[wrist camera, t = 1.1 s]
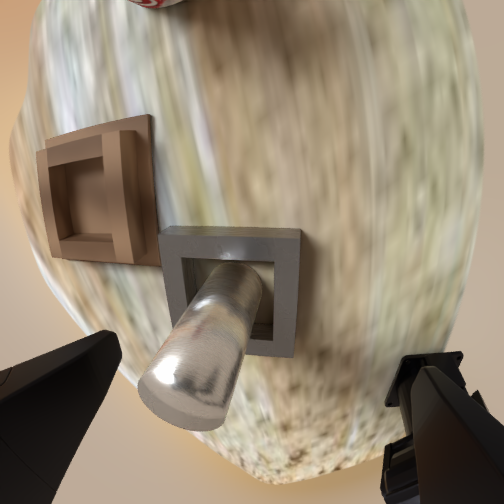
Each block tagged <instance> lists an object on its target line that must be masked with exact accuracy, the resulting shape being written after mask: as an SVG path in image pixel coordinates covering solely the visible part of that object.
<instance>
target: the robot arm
mask: <svg viewBox="0 0 504 504" xmlns="http://www.w3.org/2000/svg"><path fill="white" fill-rule="evenodd" d="M121 359H122V350H121V347H120V344H119V340H118V337H117V334H116V333H115V332H112V331H109V330H102V331H99V332H97V333H94V334H92V335H89V336H87V337H85V338H82V339H80V340H77V341H75V342H72V343H70V344H67V345H65V346H62V347H60V348H58V349H55V350H53V351H50V352H48V353H46V354H43V355H40V356H38V357H35V358H33V359H30V360H28V361H25V362H23V363H20V364H18V365H15V366H13V367H10V368H7V369H5V370H2V371H0V504H51V503H52V501H53V499H54V497H55V495H56V491H57V490H58V488H59V486H60V484H61V481H62V479H63V477H64V475H65V473H66V471H67V469H68V467H69V465H70V462H71V461H72V459H73V457H74V455H75V453H76V451H77V449H78V447H79V445H80V443H81V441H82V439H83V437H84V435H85V434H86V432H87V430H88V428H89V426H90V424H91V422H92V420H93V419H94V417H95V415H96V413H97V411H98V409H99V407H100V406H101V404H102V402H103V400H104V398H105V396H106V394H107V392H108V389H109V387H110V385H111V382H112V380H113V378H114V375H115V373H116V371H117V368H118V366H119V364H120V362H121ZM462 359H463V353H462V352H461V351H456V352H445V353H434V354H419V355H406V356H404V357H403V358H402V359H401V362H400V364H399V367H398V370H397V372H396V375H395V378H394V380H393V383H392V385H391V388H390V390H389V393H388V395H387V397H386V400H385V406H386V407H398V406H400V410H401V414H402V418H403V423H404V427H405V432H406V437H404V438H402V439H400V440H398V441H396V442H394V443H390V444H388V445H386V446H385V451H384V459H383V469H382V478H381V485H380V489H381V493H382V496H383V497H384V500H385V502H386V504H504V426H503V425H502V424H501V423H500V422H499V421H498V420H497V419H495V418H494V417H493V416H492V415H491V414H490V413H489V410H488V408H487V406H486V404H485V403H484V400H483V398H482V397H481V395H480V393H479V391H478V390H477V391H475V392H474V393H473V395H472V396H469V394H468V392H467V390H466V388H465V385H466V383H465V381H464V379H463V377H462V374H461V372H460V371H459V368H458V367H459V365H460V363H461V361H462ZM406 361H407V362H406Z"/></svg>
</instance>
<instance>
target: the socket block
mask: <svg viewBox="0 0 504 504" xmlns="http://www.w3.org/2000/svg"><path fill="white" fill-rule="evenodd" d="M300 236H301V229H290V228H258V227H213V226H169V227H168V228H167V229H165V230H164V231H162V232H161V233H159V234H158V241H159V249H160V256H161V263H162V270H163V276H164V283H165V289H166V295H167V300H168V306H169V311H170V317H171V322H172V327H173V328H174V327H175V325H176V324H177V322H178V321H179V319H180V318H181V316H182V315H183V313H184V312H185V310H186V309H187V307H188V306H189V304H190V303H191V302H192V300H193V299H194V297H195V296H196V294H197V292H196V283H195V274H194V265H193V258H207V259H228V260H250V261H272V262H274V325H272V324H257V323H254V324H253V328H252V331H251V335H250V338H249V342H248V345H247V349H246V352H245V354H247V355H258V356H270V357H284V358H293V357H294V344H295V331H296V317H297V301H298V283H299V262H300Z"/></svg>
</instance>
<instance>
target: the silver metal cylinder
mask: <svg viewBox="0 0 504 504" xmlns="http://www.w3.org/2000/svg"><path fill="white" fill-rule="evenodd" d="M262 292H263V287H262V282H261V279H260V278H259V276H258V274H257V273H256V272H255V271H254V270H253V269H252V268H250V267H249V266H247V265H245V264H243V263H239V262H226V263H222V264H220V265H218V266H217V267H216V268H215V269H214V270H213V271H212V272H211V274H210V275H209V277H208V278H207V280H206V281H205V282H204V284H203V285H202V287H201V288H200V290H199V291H198V293H197V294H196V296H195V297H194V299H193V300H192V302H191V303H190V304H189V306H188V307H187V309H186V310H185V312H184V313H183V315H182V316H181V318H180V319H179V321H178V322H177V324H176V325H175V327H174V328H173V330H172V331H171V333H170V334H169V336H168V337H167V339H166V340H165V342H164V343H163V345H162V346H161V348H160V349H159V351H158V352H157V354H156V355H155V357H154V358H153V360H152V361H151V363H150V364H149V366H148V368H147V369H146V371H145V372H144V374H143V375H142V377H141V378H140V380H139V382H138V393H139V395H140V397H141V399H142V401H143V402H144V404H145V405H146V406H147V407H148V408H149V409H150V410H151V411H152V412H153V413H154V414H155V415H157V416H158V417H159V418H161V419H163V420H164V421H166V422H168V423H170V424H172V425H174V426H177V427H180V428H183V429H186V430H191V431H211V430H214V429H217V428H219V427H220V426H221V425H222V424H223V423H224V421H225V418H226V415H227V412H228V409H229V405H230V402H231V399H232V396H233V392H234V389H235V386H236V382H237V379H238V376H239V372H240V369H241V366H242V362H243V359H244V355H245V352H246V349H247V345H248V342H249V338H250V335H251V331H252V328H253V324H254V321H255V317H256V314H257V310H258V307H259V303H260V300H261V296H262Z"/></svg>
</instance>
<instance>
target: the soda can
mask: <svg viewBox="0 0 504 504" xmlns="http://www.w3.org/2000/svg"><path fill="white" fill-rule="evenodd" d="M128 1H131V2H133V3H135V4H138V5H140V6H142V7H146V8H162V7H167V6H170V5H173V4H176V3H178V2H181V1H183V0H128Z"/></svg>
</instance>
